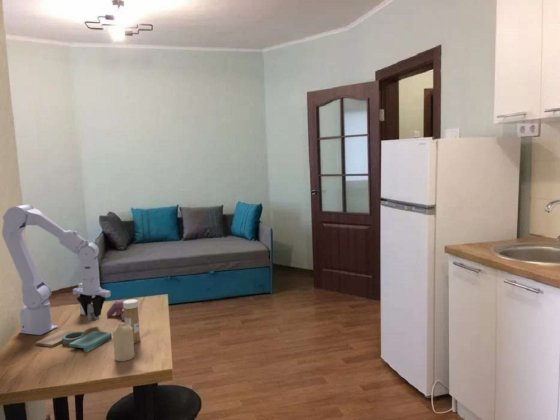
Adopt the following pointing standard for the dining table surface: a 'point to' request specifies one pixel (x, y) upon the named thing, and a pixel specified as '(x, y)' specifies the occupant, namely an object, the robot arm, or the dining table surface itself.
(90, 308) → the pin
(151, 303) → the dining table surface
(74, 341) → the hinge
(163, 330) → the dining table surface
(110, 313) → the video game controller
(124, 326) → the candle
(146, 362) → the dining table surface
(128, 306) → the sprinkles bottle
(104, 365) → the dining table surface
